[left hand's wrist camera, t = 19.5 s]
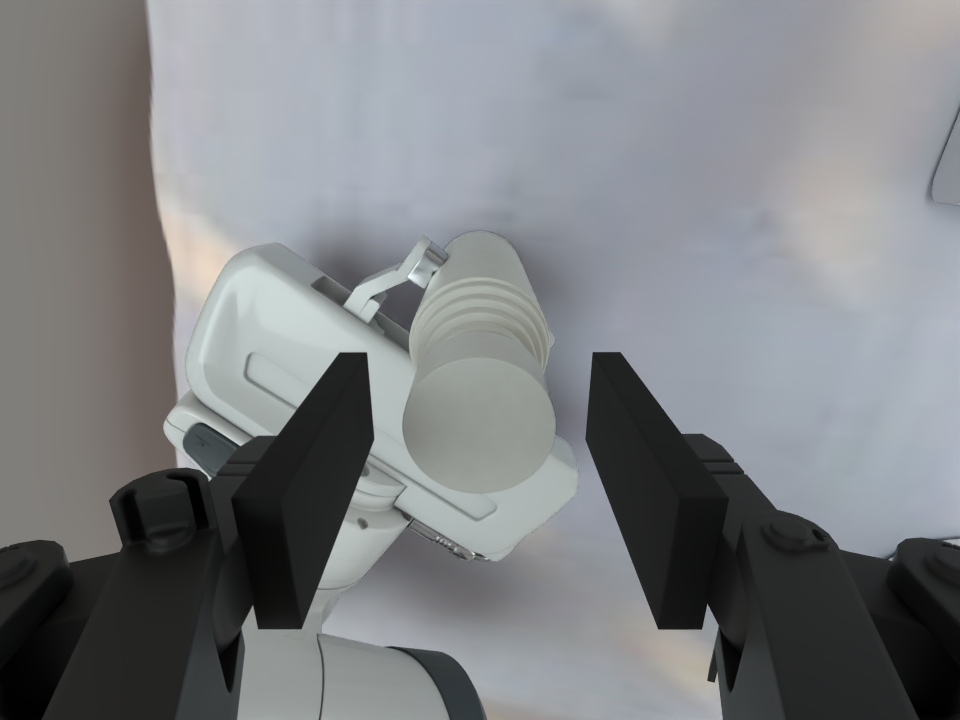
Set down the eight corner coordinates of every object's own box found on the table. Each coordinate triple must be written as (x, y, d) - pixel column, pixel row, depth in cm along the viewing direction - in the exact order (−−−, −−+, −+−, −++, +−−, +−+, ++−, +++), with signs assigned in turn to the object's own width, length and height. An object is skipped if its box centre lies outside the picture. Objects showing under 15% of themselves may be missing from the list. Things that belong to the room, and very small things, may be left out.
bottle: (435, 230, 30) (372, 325, 12) (523, 230, 30) (585, 324, 12) (438, 315, 31) (387, 502, 14) (520, 315, 31) (572, 502, 14)
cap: (483, 475, 16) (484, 519, 14) (384, 398, 15) (370, 434, 13) (574, 390, 15) (589, 425, 13) (474, 302, 14) (473, 325, 12)
